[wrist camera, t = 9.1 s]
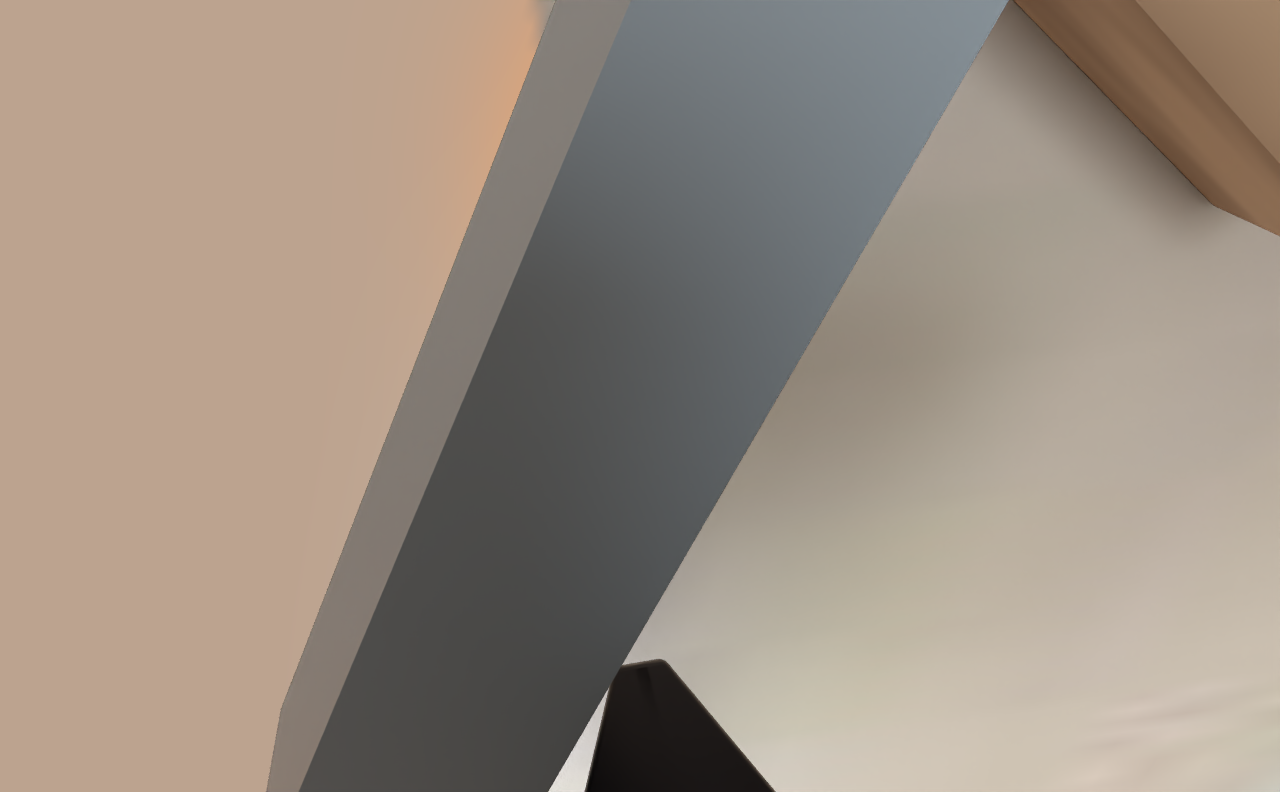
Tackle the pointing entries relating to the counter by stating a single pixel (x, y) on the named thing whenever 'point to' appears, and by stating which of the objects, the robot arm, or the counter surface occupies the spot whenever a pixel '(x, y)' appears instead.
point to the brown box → (1188, 86)
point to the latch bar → (604, 368)
